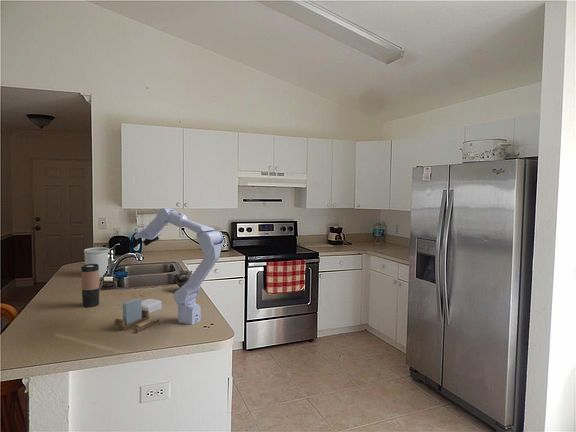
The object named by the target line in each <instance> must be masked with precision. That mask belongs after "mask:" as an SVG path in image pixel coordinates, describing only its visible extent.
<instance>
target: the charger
mask: <svg viewBox="0 0 576 432" xmlns="http://www.w3.org/2000/svg"><path fill="white" fill-rule="evenodd" d="M162 303H163V302H162V301H161V300H159V299H154V298H147V299H143V300H141V306H142V310H147V311H149V314H150V313H153V312H157V311H158V310H162V309H163V304H162Z"/></svg>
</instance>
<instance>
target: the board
mask: <svg viewBox="0 0 576 432" xmlns="http://www.w3.org/2000/svg"><path fill="white" fill-rule="evenodd" d="M141 301H142V298H140V297H137V298H134V299H131V300H128V301H125V302H122V320H125V325H127V324H130V323H132V322H135V321H137V320H140V319H142V306H141Z"/></svg>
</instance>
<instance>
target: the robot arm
mask: <svg viewBox="0 0 576 432" xmlns="http://www.w3.org/2000/svg"><path fill="white" fill-rule="evenodd" d="M168 224H170V225H173V226H175V227H178V228H180V229H182V228H184V227H185V228H187V229H188V230H190V231H192V232H194V233H196V235H195V237H196V239H197V240H198V241H197V242H198V244H199V246H200V249H201V250H202V252H203V253H202V254H204V257H203V258H202V260H201V261H200V263H199V264H198V265H197V267H196V269H195V270H194V272H192V276H191V277H190V279H189V280H188V282H187V283H185V284H184V285H183V286H182V287H181V288H180V287H179V288H178V289H177V290H175V292H174V293H173V300H174V301H175V303H176V304H177V322H178V323H180V324H187V325H191V326H192V325H195V324H196V323H198V322H199V323H200V321H202V315H201V314H202V309H201V308H202V307H201V305H200V304H198V303H196V301H197V300H196V299H197V298H198V296H199V294H200V293H199V292H200V290H201V285H202V283H203V282H204V280H205V279H206V278H207V276H208V275H209V274H210V272H211V270H212V269H213V268H214V266H215V265H216V264H217V262H218V261H219V259H220V258H221V250H222V246H223V245H224V243H225V240H224V236H223V233H222V232H221V231H220V230H216V229H215V228H214V227H211V226H207V225H205V224H201V223H199V222H196V221H193V220H191V219H188V217H187V215H185V214H184V212H181V211H180V212H178V211H176V210H175V209H173V208H172V207H166V208H163V207H162V208H159V209H158V210H157V212H156V216H155V217H154V218H153V219H152V220H151V221H150V222H149V223H148V225H147V226H146V225H145V226H143V227H142V230H140V231H139V232H138V231H137V232H136V231H135V232H134V233H133V234H132V240H131V242H130V244H129V245H130V247H131V248H132V249H134V248H136V247H137V246H138V245H140V244H143V245H144V246H146V247H147V246H149V245H150V244H152V243H154V242H156V241H159V240H160V237H159V236H161V235H162V234H163V233H162V230H163V229H164V228H165V227H166V226H167V225H168ZM142 239H144V240H142Z"/></svg>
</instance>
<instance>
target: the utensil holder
mask: <svg viewBox="0 0 576 432" xmlns="http://www.w3.org/2000/svg"><path fill="white" fill-rule="evenodd" d="M108 252H109V253H110V248H109V247H106V246H104V247H99V246H98V247H90V248H89V247H88V248H85V249H84V250H83V253H84V254H83V255H84V265H86V264H98V265H99V278H104V277H103V275H104V274H105V273H106V271H107V266H108Z"/></svg>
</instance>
